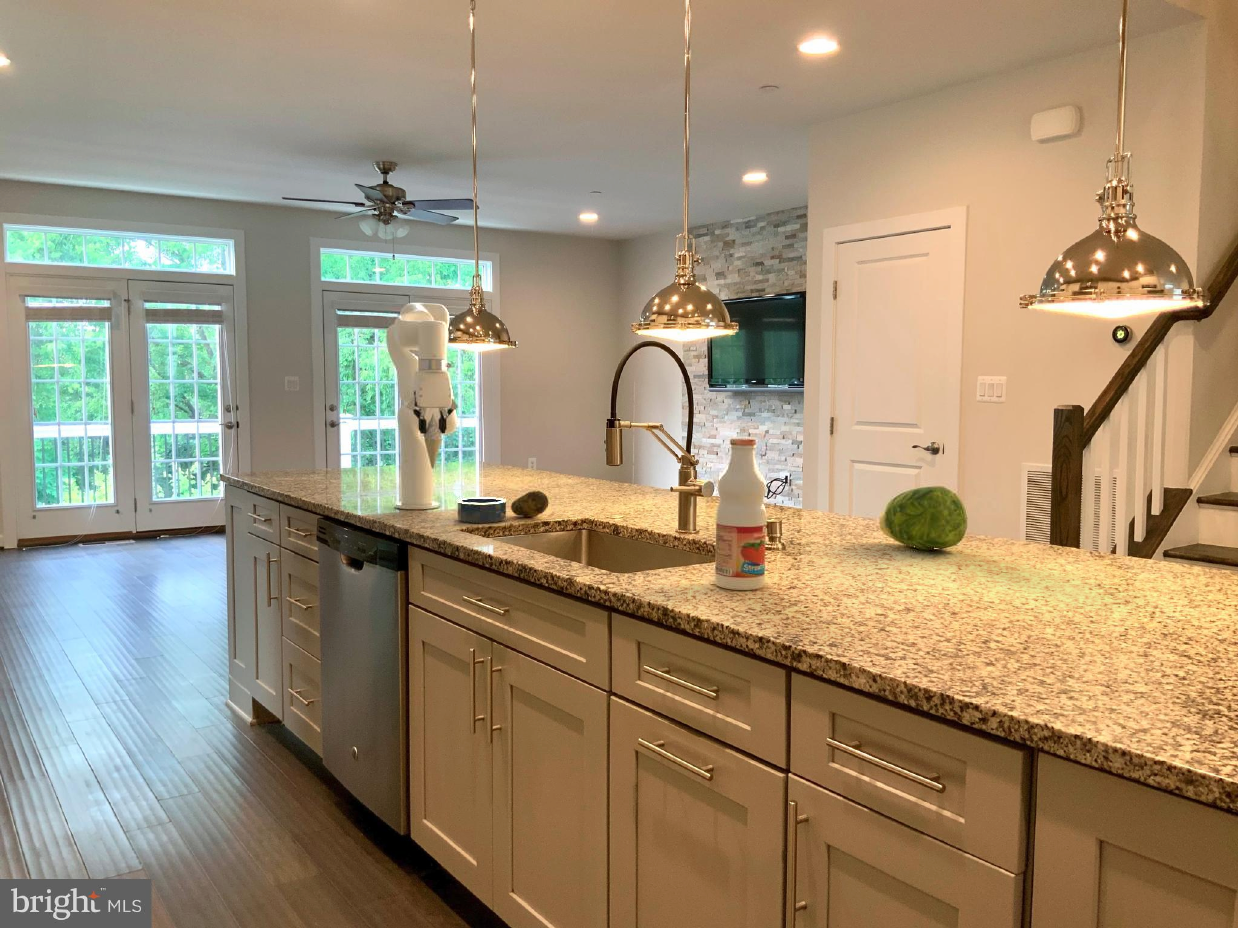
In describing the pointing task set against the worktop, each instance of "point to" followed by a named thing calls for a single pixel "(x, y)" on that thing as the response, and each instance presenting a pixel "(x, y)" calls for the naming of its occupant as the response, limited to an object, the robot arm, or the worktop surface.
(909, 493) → the lettuce
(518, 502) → the potato
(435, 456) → the ice cream cone
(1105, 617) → the worktop surface
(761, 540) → the fruit juice
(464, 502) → the bowl
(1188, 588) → the worktop surface
